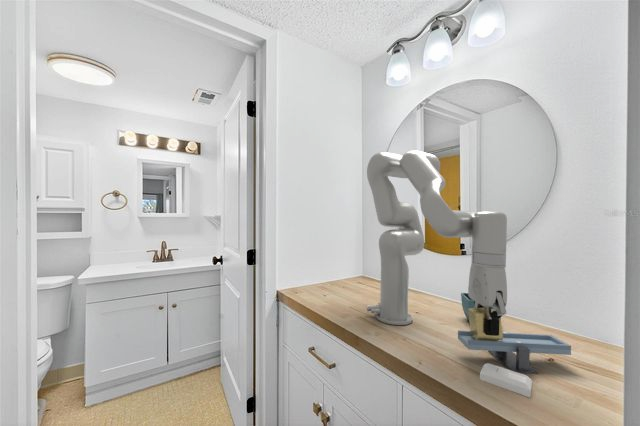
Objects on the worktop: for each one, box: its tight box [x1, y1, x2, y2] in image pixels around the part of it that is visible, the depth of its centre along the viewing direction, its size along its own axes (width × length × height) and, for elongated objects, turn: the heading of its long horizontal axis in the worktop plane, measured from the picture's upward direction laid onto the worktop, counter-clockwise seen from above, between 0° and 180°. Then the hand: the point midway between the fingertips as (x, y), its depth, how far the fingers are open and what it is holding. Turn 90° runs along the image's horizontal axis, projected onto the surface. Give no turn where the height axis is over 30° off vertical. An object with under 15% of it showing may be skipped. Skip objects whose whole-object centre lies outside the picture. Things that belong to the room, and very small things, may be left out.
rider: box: [468, 307, 503, 341], centre depth 69 cm, size 6×4×7 cm, turn 87°
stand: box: [487, 331, 539, 375], centre depth 69 cm, size 6×10×6 cm, turn 177°
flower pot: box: [460, 292, 496, 321], centre depth 95 cm, size 9×9×9 cm
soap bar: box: [479, 362, 533, 398], centre depth 60 cm, size 5×9×3 cm, turn 49°
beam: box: [457, 329, 572, 356], centre depth 69 cm, size 24×7×2 cm, turn 87°
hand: (486, 330), depth 69 cm, fingers closed on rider, 3 cm apart
